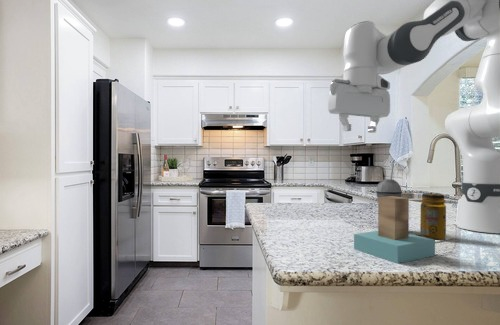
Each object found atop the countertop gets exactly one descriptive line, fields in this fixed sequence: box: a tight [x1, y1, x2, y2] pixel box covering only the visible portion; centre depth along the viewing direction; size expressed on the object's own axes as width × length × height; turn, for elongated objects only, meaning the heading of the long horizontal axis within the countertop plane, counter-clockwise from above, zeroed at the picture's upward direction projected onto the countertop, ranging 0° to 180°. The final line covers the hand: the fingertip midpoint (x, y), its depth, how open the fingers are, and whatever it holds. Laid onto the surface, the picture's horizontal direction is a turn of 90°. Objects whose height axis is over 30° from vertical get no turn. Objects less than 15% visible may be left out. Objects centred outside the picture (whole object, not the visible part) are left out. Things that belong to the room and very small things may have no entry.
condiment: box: [415, 193, 453, 243], centre depth 86 cm, size 7×8×12 cm
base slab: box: [353, 230, 436, 264], centre depth 72 cm, size 12×12×4 cm
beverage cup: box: [375, 164, 403, 200], centre depth 96 cm, size 7×7×20 cm
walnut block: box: [377, 196, 410, 240], centre depth 72 cm, size 4×4×9 cm
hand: (359, 131), depth 88 cm, fingers open, 8 cm apart
